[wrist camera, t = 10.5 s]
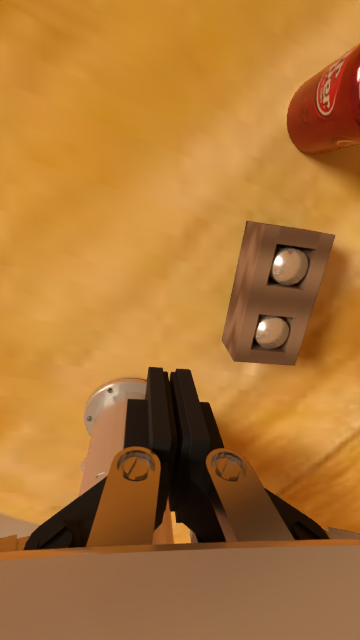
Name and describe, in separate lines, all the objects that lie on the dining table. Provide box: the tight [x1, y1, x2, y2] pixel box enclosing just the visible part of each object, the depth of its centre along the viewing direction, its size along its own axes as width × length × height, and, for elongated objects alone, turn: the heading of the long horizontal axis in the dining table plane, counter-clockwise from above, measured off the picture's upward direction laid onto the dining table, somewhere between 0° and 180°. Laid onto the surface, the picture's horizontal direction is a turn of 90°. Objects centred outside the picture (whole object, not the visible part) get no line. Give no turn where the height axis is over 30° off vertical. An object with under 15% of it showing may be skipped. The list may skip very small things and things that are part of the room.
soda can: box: [287, 43, 360, 154], centre depth 28 cm, size 7×7×12 cm
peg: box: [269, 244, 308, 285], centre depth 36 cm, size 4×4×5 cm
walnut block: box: [222, 221, 335, 366], centre depth 37 cm, size 16×8×6 cm, turn 172°
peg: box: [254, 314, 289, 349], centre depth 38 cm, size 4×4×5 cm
